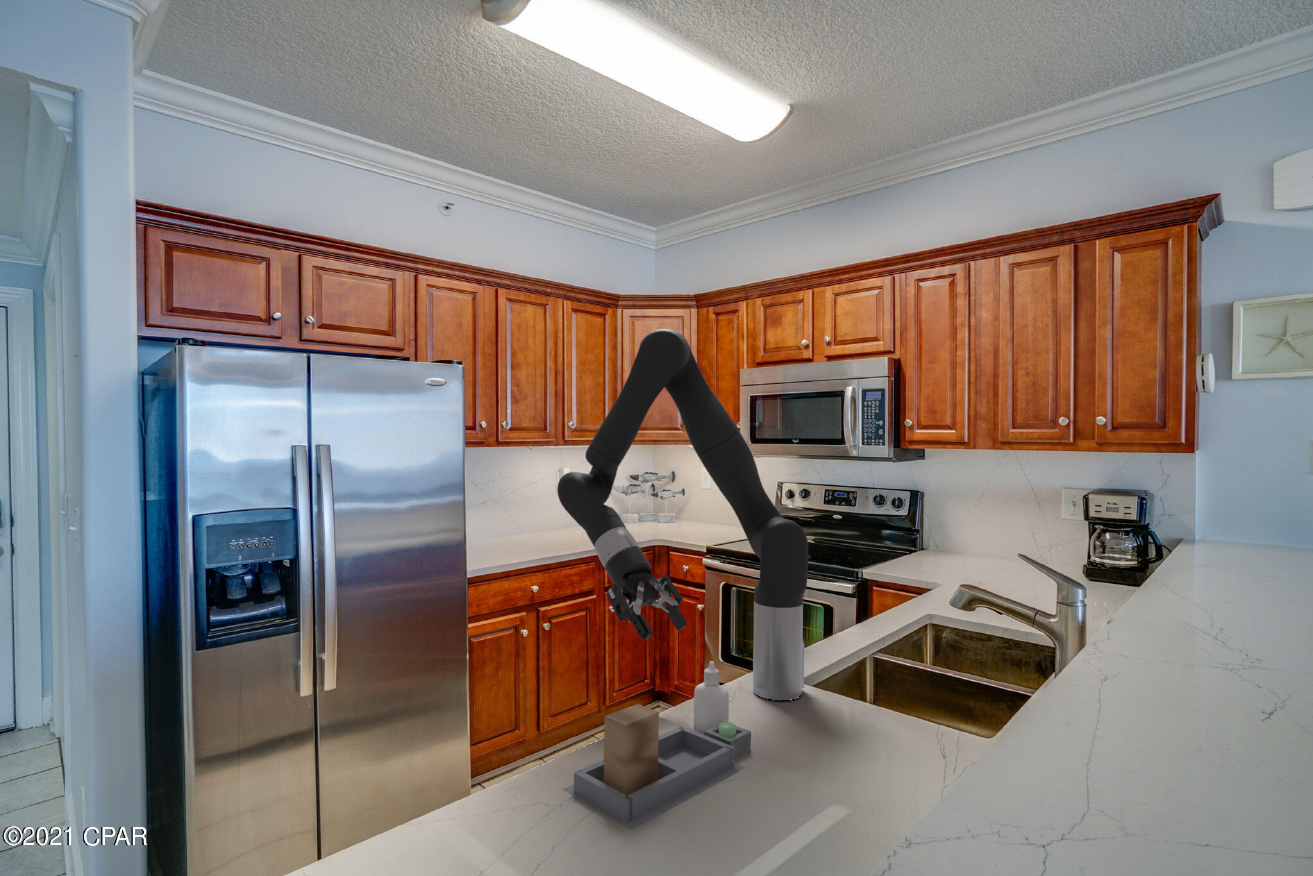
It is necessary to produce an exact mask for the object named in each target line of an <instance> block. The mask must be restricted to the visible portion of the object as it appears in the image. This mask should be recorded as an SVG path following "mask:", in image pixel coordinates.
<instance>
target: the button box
mask: <svg viewBox="0 0 1313 876" xmlns="http://www.w3.org/2000/svg"><path fill="white" fill-rule="evenodd" d="M723 723H724V722H723ZM704 735H706V736H708V737H711V738H713V739H715V740H718V741H720V742H723V743H725V744H728V745H730V746H733V747H734V758H736V757H737V756H740V755H741V754H743V753H747V754H748V755H751V753H752V748H751V747H752V744H751V743H752V731H750V730H748V729H745V728H743V727H740V726H737V725H736V735H734V736H732V737H730V738H728V737H726V736H723V735H721V734H719V724H718V725H716V726H714V727H712V728H710V729H707V730H705V731H704Z"/></svg>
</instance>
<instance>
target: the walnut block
mask: <svg viewBox="0 0 1313 876" xmlns="http://www.w3.org/2000/svg"><path fill="white" fill-rule="evenodd" d="M659 715H660V712H659V711H657V710H654V709H651V708H649V707H647V706H644V705H641V704H639V703H636V704H634V705H632V706H631V705H630V706H628V707H625V708H623V709H620V710H618V711H614V712H612V713H609V714H607V715H605V716H604V723H603V724H604V725H603V726H604V727H603V728H604V730H603V731H604V732H603V734H604V735H603V736H604V738H603V739H604V740H603V743H604V745H603V760H604V783H605V784H606V785H608V786H610V787H612V788H614V789H615V790H617V791H619V792H621V793H623V794H624V795H626V796H628V795H630V794H632V793H634V792H636V791H638V790H640V789H642V788H644V787H646V786H648V785H650V784H652V783H654V782H656V781H658V736H660V735H659V728H660V727H659V726H660V725H659V723H660V719H659V717H660V716H659Z"/></svg>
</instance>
